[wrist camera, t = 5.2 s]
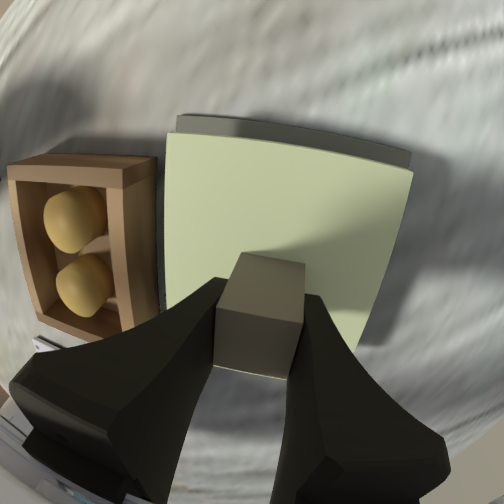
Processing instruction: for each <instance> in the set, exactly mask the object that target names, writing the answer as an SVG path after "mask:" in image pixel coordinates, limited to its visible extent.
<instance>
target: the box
mask: <svg viewBox="0 0 504 504" xmlns="http://www.w3.org/2000/svg"><path fill="white" fill-rule="evenodd" d="M156 173H157V157H147V156H131V155H109V154H41V155H38V156H34V157H31V158H28V159H24V160H21V161H18V162H15V163H12V164H9V165H7V177H8V187H9V196H10V204H11V211H12V218H13V224H14V229H15V235H16V240H17V245H18V250H19V254H20V259H21V263H22V267H23V271H24V275H25V278H26V282H27V286H28V289H29V293H30V296H31V299H32V302H33V306H34V309H35V312H36V315H37V318H38V320H39V321H41V322H43V323H45V324H47V325H50V326H52V327H54V328H56V329H59V330H61V331H63V332H66V333H68V334H70V335H73V336H75V337H78V338H80V339H82V340H85V341H87V342H90V343H91V342H94V341H98V340H101V339H104V338H107V337H110V336H113V335H115V334H118V333H121V332H123V331H126V330H129V329H131V328H133V327H136V326H138V325H140V324H142V323H144V322H146V321H148V320H150V319H152V318H154V317H156V316H158V315H159V314H160V308H159V294H158V276H157V250H156Z"/></svg>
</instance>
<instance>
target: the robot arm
mask: <svg viewBox="0 0 504 504" xmlns="http://www.w3.org/2000/svg"><path fill="white" fill-rule="evenodd" d="M228 280H229V279H225V278H220V277H214V278H212V279H211V280H209V281H208V282H206V283H205V284H204V285H202V286H201V287H200V288H198V289H197V290H196V291H194V292H193V293H192V294H190V295H189V296H187V297H186V298H184V299H183V300H181V301H180V302H179V303H177V304H176V305H174V306H172V307H171V308H169V309H167V310H166V311H164V312H163V313H161V314H159V315H158V316H156V317H154V318H152V319H150V320H148V321H146V322H144V323H142V324H140V325H138V326H136V327H133V328H131V329H129V330H126V331H123V332H121V333H118V334H115V335H113V336H110V337H107V338H104V339H101V340H98V341H94V342H91V343H87V344H83V345H79V346H75V347H70V348H65V349H60V348H58V347H56V346H54V345H52V344H50V343H47V342H45V341H43V340H41V339H39V338H38V337H34V338H33V339H32V341H33V343H34V346H35V348H36V350H37V353H35V354H34V355H33V356H32V357H31V358H30V360H29V361H28V362H27V363H26V364H25V365H24V366H23V367H22V369H21V370H20V371H19V372H18V373H17V374H16V376H15V377H14V378H13V379H12V380H11V381H10V383H9V391H10V394H11V396H10V397H9V398H8V400H7V401H6V402H5V404H4V405H3V406H2V407H1V409H0V504H86V503H84V502H82V501H81V500H79V499H77V498H76V497H74V496H73V492H74V493H76V494H78V495H80V496H81V497H83V498H85V499H87V500H89V501H91V502H93V503H95V504H167V501H168V497H169V493H170V489H171V485H172V482H173V478H174V474H175V471H176V467H177V464H178V460H179V457H180V453H181V450H182V447H183V443H184V440H185V437H186V434H187V430H188V427H189V424H190V421H191V418H192V415H193V412H194V409H195V406H196V404H197V401H198V399H199V396H200V394H201V392H202V390H203V387H204V385H205V383H206V381H207V379H208V376H209V374H210V372H211V370H212V368H213V356H214V335H215V316H216V306H217V304H218V302H219V299H220V297H221V295H222V293H223V291H224V288H225V286H226V284H227V282H228ZM303 305H304V319H303V326H302V330H301V334H300V337H299V341H298V344H297V347H296V351H295V354H294V358H293V361H292V364H291V368H290V371H289V374H288V377H287V393H286V417H285V427H284V433H283V439H282V445H281V451H280V456H279V462H278V467H277V472H276V477H275V482H274V486H273V491H272V496H271V500H270V504H420V503H419V498H421V497H423V496H424V495H426V494H427V493H429V492H430V491H432V490H433V489H435V488H436V487H437V486H439V485H440V484H441V483H443V482H444V481H445V480H446V478H447V477H448V475H449V474H450V472H451V467H450V462H449V456H448V452H447V448H446V444H445V441H444V438H443V437H441V436H440V435H439V434H437V433H436V432H434V431H433V430H431V429H430V428H428V427H427V426H425V425H424V424H422V423H421V422H419V421H418V420H417V419H415V418H414V417H413V416H412V415H411V414H409V413H408V412H407V411H406V410H404V409H403V408H402V407H401V406H400V405H399V404H398V403H396V402H395V401H394V400H393V399H392V398H391V397H390V396H389V395H388V394H387V393H386V392H385V391H384V390H383V389H382V388H381V387H380V386H379V385H378V384H377V383H376V382H375V381H374V380H373V378H372V377H371V376H370V375H369V374H368V372H367V371H366V370H365V369H364V368H363V366H362V365H361V364H360V363H359V361H358V360H357V359H356V357H355V356H354V354H353V353H352V352H351V350H350V349H349V347H348V346H347V344H346V342H345V341H344V339H343V338H342V336H341V334H340V332H339V331H338V329H337V327H336V325H335V324H334V322H333V320H332V318H331V316H330V314H329V312H328V310H327V308H326V306H325V304H324V302H323V300H322V298H321V297H320V296H319V295H313V294H307V293H305V295H304V304H303ZM489 504H504V495H503V496H501V497H499V498H497V499H495V500H493V501H492V502H490V503H489Z"/></svg>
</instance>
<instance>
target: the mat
mask: <svg viewBox="0 0 504 504" xmlns="http://www.w3.org/2000/svg"><path fill="white" fill-rule="evenodd" d="M176 132H187V133H201V134H213V135H224V136H234V137H243V138H251V139H259V140H267V141H274V142H281V143H287V144H294V145H300V146H306V147H311V148H317V149H322V150H327V151H333V152H338V153H342V154H347V155H352V156H356V157H361V158H365V159H370V160H374V161H378V162H382V163H386V164H390V165H394V166H398V167H401V168H405V169H408V166H409V161H410V157H411V152H408V151H404V150H401V149H397V148H393V147H390V146H386V145H382V144H378V143H374V142H370V141H366V140H361V139H357V138H353V137H348V136H343V135H339V134H334V133H329V132H323V131H318V130H312V129H307V128H301V127H294V126H288V125H281V124H274V123H266V122H258V121H249V120H240V119H229V118H217V117H203V116H183V115H177V122H176Z"/></svg>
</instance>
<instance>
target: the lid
mask: <svg viewBox="0 0 504 504" xmlns="http://www.w3.org/2000/svg"><path fill="white" fill-rule="evenodd" d="M413 173H414V172H412V171H410V170H408V169H405V168H401V167H398V166H394V165H390V164H386V163H382V162H378V161H374V160H370V159H365V158H361V157H356V156H352V155H347V154H342V153H338V152H333V151H327V150H322V149H317V148H311V147H306V146H300V145H294V144H287V143H281V142H274V141H267V140H259V139H251V138H243V137H234V136H224V135H213V134H201V133H187V132H169V133H167V142H166V162H165V194H164V250H165V282H166V303H167V309H169V308H171V307H172V306H174V305H176V304H177V303H179V302H180V301H181V300H183V299H184V298H186V297H187V296H189V295H190V294H192V293H193V292H194V291H196V290H197V289H198V288H200V287H201V286H202V285H204V284H205V283H206V282H208V281H209V280H211V279H212V278H214V277H220V278H225V279H229V280H228V282H227V284H226V286H225V288H224V291H223V293H222V295H221V297H220V299H219V302H218V304H217V306H216V316H215V335H214V356H213V366H217V367H221V368H226V369H230V370H235V371H240V372H245V373H250V374H255V375H260V376H265V377H271V378H277V379H283V380H287V377H288V374H289V371H290V368H291V364H292V361H293V358H294V354H295V351H296V347H297V344H298V341H299V337H300V334H301V330H302V326H303V319H304V305H303V304H304V295H305V293H307V294H313V295H319V296H320V297H321V298H322V300H323V302H324V304H325V306H326V308H327V310H328V312H329V314H330V316H331V318H332V320H333V322H334V324H335V325H336V327H337V329H338V331H339V332H340V334H341V336H342V338H343V339H344V341H345V342H346V344H347V346H348V347H349V349H350V350H351V352H352V353H354V351H355V348H356V346H357V344H358V342H359V339H360V337H361V335H362V332H363V330H364V327H365V325H366V323H367V320H368V318H369V315H370V313H371V310H372V307H373V305H374V302H375V300H376V297H377V294H378V292H379V289H380V286H381V283H382V280H383V278H384V275H385V272H386V269H387V266H388V263H389V260H390V257H391V254H392V251H393V248H394V244H395V241H396V238H397V234H398V231H399V228H400V224H401V221H402V217H403V213H404V210H405V206H406V202H407V198H408V194H409V190H410V186H411V182H412V178H413Z"/></svg>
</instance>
